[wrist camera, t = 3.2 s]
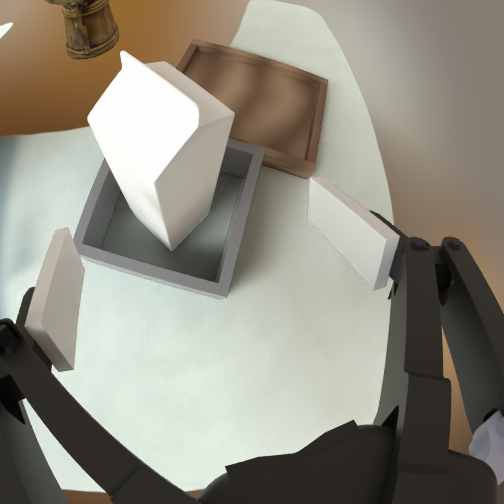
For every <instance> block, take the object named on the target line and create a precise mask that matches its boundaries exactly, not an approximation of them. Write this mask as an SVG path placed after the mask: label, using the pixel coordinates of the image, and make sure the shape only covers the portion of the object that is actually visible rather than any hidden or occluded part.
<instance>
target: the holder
mask: <svg viewBox="0 0 504 504" xmlns="http://www.w3.org/2000/svg"><path fill="white" fill-rule="evenodd" d="M264 152H265V149H263V148H260V147H256V146H253V145H250V144H247V143H243V142H240V141H237V140H233V139H230V138H228V141H227V145H226V148H225V152H224V156H223V160H222V164H221V168H220V172H223V173H227V174H230V175H234V176H237V177H240V178H243V179H242V183H241V186H240V190H239V193H238V197H237V201H236V204H235V208H234V211H233V215H232V219H231V222H230V226H229V230H228V234H227V237H226V241H225V245H224V249H223V252H222V256H221V260H220V264H219V268H218V272H217V275H216V279H215V282H212V281H208V280H204V279H200V278H197V277H193V276H190V275H186V274H182V273H179V272H175V271H172V270H168V269H165V268H161V267H158V266H154V265H151V264H147V263H144V262H141V261H137V260H134V259H130V258H127V257H124V256H120V255H117V254H114V253H111V252H107V251H104V250H101V247H102V244H103V241H104V238H105V235H106V232H107V229H108V226H109V223H110V220H111V217H112V214H113V212H114V209H115V206H116V203H117V201H118V198H119V195H120V193H121V189H120V187H119V185H118V183H117V181H116V179H115V177H114V175H113V173H112V171H111V169H110V167H109V165H108V163H107V161H106V159H105V158H104V160H103V163H102V165H101V167H100V170H99V172H98V174H97V177H96V179H95V181H94V184H93V186H92V189H91V191H90V194H89V196H88V199H87V202H86V204H85V207H84V210H83V212H82V215H81V218H80V221H79V224H78V227H77V229H76V232H75V235H74V239H73V242H74V244H75V247H76V249H77V252H78V254H79V256H80V257H82V258H84V259H85V260H87V261H90V262H93V263H96V264H99V265H102V266H105V267H109V268H112V269H115V270H118V271H121V272H125V273H128V274H131V275H135V276H138V277H141V278H145V279H148V280H151V281H155V282H158V283H162V284H165V285H169V286H172V287H176V288H179V289H183V290H187V291H190V292H194V293H198V294H201V295H205V296H209V297H212V298H216V299H224V298H227V296H228V292H229V288H230V284H231V280H232V276H233V272H234V268H235V264H236V260H237V256H238V252H239V248H240V244H241V240H242V237H243V233H244V229H245V225H246V221H247V217H248V213H249V209H250V205H251V201H252V198H253V194H254V190H255V186H256V182H257V178H258V175H259V171H260V167H261V163H262V159H263V155H264Z"/></svg>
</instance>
